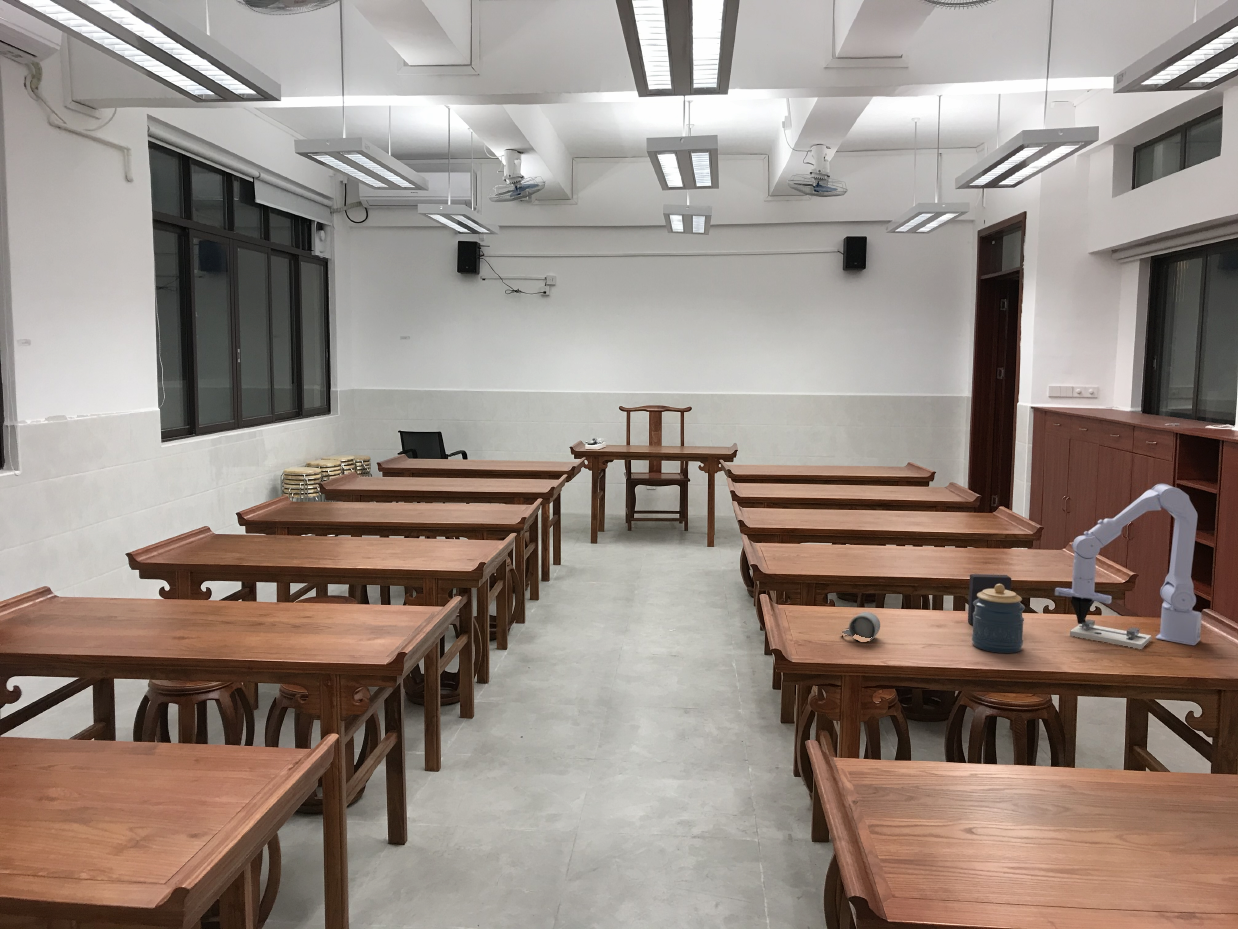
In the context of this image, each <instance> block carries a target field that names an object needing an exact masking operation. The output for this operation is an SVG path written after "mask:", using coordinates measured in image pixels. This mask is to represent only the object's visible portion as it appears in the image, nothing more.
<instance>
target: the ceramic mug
mask: <svg viewBox="0 0 1238 929" xmlns="http://www.w3.org/2000/svg"><path fill="white" fill-rule="evenodd" d="M845 629H849V630H846V631H842V630H841V631H842V633H844V634H847V635H849V636H850V637H851V638H852V637H853V636H854V635H855V634H856V635H859V636H861V637H865V638H871V637H872V638H871V639H870V641H869V642H871V641H872V640H874V638H875V637H876V636H877V635H878V634H879V632H880V629H881V622H880V619H879V618H878V616H877V615H876V614H875V613H873V612H869V611H864V612H861V613H859V614H857V615H856V616H854V617H853V618H852V619H851V620H850V622H849V624H848V627H846V628H845Z"/></svg>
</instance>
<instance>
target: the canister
mask: <svg viewBox="0 0 1238 929" xmlns="http://www.w3.org/2000/svg"><path fill="white" fill-rule="evenodd" d="M977 596H978V597H979V598H978V599H977V600H975V601H974V602H973V604H974V605H975V612H974V613H973V625H972V634H971V641H972V645H973V646H974V647H975V648H977V649H980V650H982V651H986V652H992V653H997V654H1014V653H1015V654H1016V653H1018V652H1020V651H1022V648H1023V644H1024V640H1023V636H1024V635H1023V634H1024V621H1025V618H1024V617H1023V611H1025V608H1026V607H1025V605H1024V604H1022V603H1021V601H1022V600H1023V598H1022V597H1021V596H1020V595H1018V594H1017V593H1016V592H1014V591H1009V590H1005V588H1004V586H1003V585H1002V584H997V585H995V587H994V589H985V590H983V591H982V592H979V593H978V594H977Z"/></svg>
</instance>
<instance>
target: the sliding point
mask: <svg viewBox="0 0 1238 929" xmlns="http://www.w3.org/2000/svg"><path fill="white" fill-rule="evenodd" d="M1095 621H1096V620H1094V619H1089V618H1087V619H1085V621H1084V622H1082V628H1084V629H1085V630H1086V629H1091V628H1092V627H1094V626H1095Z"/></svg>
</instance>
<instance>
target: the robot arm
mask: <svg viewBox="0 0 1238 929" xmlns="http://www.w3.org/2000/svg"><path fill="white" fill-rule="evenodd" d="M1162 508H1163V509H1165V510H1166V511H1167V512H1168V513H1169V514H1170V515H1171V516H1172V517H1173V518H1174V525H1173V526H1174V527H1173V535H1172V544H1171V552H1170V563H1169V570H1168V573H1167V575H1166V576H1165V578H1164V579H1165V580H1164V583H1163V585H1162V586H1161V587H1160V591H1159V594H1160V596H1161V599H1162V600H1163V603H1161V614H1160V628H1159V629H1160V630H1159V631H1160V632H1159V633H1158V634H1157V635H1156V636H1155V639H1156V640H1160V641H1161V640H1163V641H1167V642H1173V643H1177V644H1184V645H1189V646H1196V645H1197V643H1199V641H1201V630H1202V629H1201V628H1202V613H1201V612H1200V611H1197V610H1193V608H1194V606H1195V605H1196V603H1197V597H1196V595H1195V593H1194V592H1195V591H1194V587H1195V586H1194V582H1193V579H1192V577H1191V576H1192V570H1193V569H1192V568H1193V560H1194V551H1195V540H1196V533H1197V524H1198V512H1197V511H1196V509H1195V507H1194V505H1193V503H1192V502H1191V499H1190V496H1189V494H1187V493H1186V492H1185V491H1183V490H1181V489H1180V488H1178V487H1174V486H1171V485H1169V484H1167V483H1157V484H1156V485H1154V486H1153V487H1152V488H1151V489H1147V490H1146V491H1144V493H1143V494H1142V495H1141V496H1139V497H1138V498H1137V499H1135V500H1134V501H1133V502H1132V503H1130V504H1129V505H1128V506H1127V507H1125V508H1124V509H1122V511H1120V513H1118V514H1117V515H1116V516H1115V517H1113V518H1108V517H1107V518H1104V519H1099V520H1098V521H1097V524H1096V525H1095V526H1094V527H1092V528H1091V529H1089V530H1088V531H1087V530H1085V531H1084V532H1083V535H1079V536H1077V537H1075V539H1073V542H1072V543H1071V548H1072V550H1073V551H1074V555H1073V563H1072V566H1073V567H1072V582H1071V583H1072V584H1071V588H1065V587H1063V588H1061V587H1056V588H1055V589H1054V596H1062V597H1068V598H1071V599H1070V604H1071V605H1072V607H1073V609H1074V612H1075V616H1076V621H1077V625H1080V624H1082V622H1084V621H1085V620H1087V619H1086V618H1087V615H1088V613H1089V612H1090V609H1091V607H1092V605H1093V604H1094V603H1095V602H1099V603H1105V604H1108V605H1109V604H1111V603H1112V595H1108V594H1102V593H1098V592H1095V585H1096V584H1095V583H1096V569H1097V568H1096V566H1097V563H1096V560H1097V558H1096V557H1097V556H1098V555H1099V553H1100V551H1101V548H1104V547H1105V546H1106V545H1108V544H1109V543H1111V542H1112V541H1113V540H1115V539H1116V538H1118V537H1119V536H1120V535H1122V530H1123V527H1125V526H1127V525H1128V524H1129V523H1131V522H1133V521H1134V520H1135V519H1137V518H1139V517H1140V516H1142V515H1143V514H1145V513H1146V512H1149V511H1151V512H1152V511H1161V510H1162Z"/></svg>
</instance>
